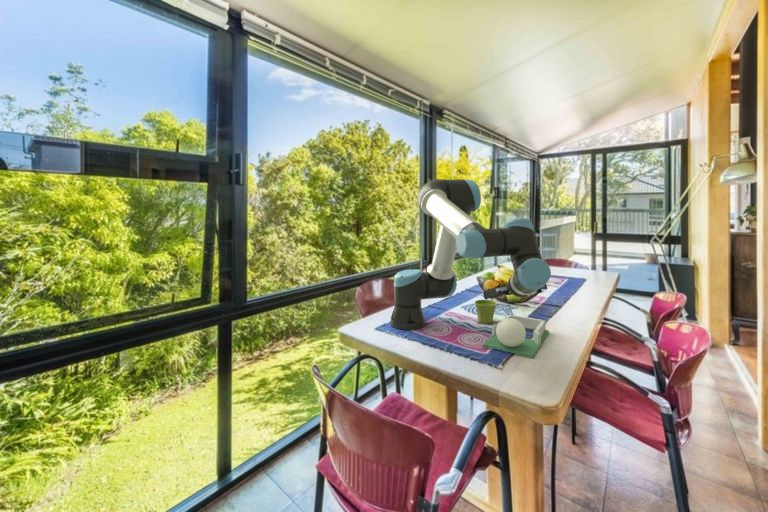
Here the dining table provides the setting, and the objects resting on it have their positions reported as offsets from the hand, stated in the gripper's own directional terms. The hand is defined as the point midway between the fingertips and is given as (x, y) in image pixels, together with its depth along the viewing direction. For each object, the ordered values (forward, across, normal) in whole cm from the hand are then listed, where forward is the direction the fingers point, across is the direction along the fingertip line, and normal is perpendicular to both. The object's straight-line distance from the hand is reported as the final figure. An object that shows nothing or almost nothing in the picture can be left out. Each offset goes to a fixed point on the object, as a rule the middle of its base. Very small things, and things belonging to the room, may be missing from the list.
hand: (510, 294), depth 120 cm
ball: (+5, -2, -13) cm, 14 cm away
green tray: (+15, +1, -16) cm, 22 cm away
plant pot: (+33, -7, -6) cm, 34 cm away
